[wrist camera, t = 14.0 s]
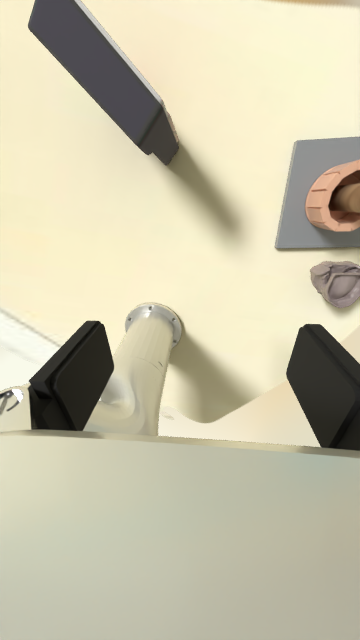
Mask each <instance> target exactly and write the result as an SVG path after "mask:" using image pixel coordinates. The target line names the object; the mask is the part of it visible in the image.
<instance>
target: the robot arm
mask: <svg viewBox="0 0 360 640" xmlns="http://www.w3.org/2000/svg"><path fill="white" fill-rule="evenodd" d="M150 306H151V307H150ZM174 318H175V319H174ZM125 330H126V335H125V336H124V338H123V340H122V342H121V343H120V345H119V347H118V349H117V350H116V352H115V354H114V356H113V357H112V354H111V350H110V346H109V343H108V339H107V335H106V331H105V327H104V325H103V324H101V323H100V322H99V321H86V322H85V323H84V324H83V325H82V326H81V327H80V328H79V329H78V330H77V331H76V332H75V333H74V334H73V335H72V336H71V337H70V339H69V340H68V341H67V342H66V343H65V344H64V345H63V346H62V347H61V348H60V349H59V350H58V351H57V352H56V353H55V354H54V355H53V356H52V357H51V358H50V359H49V360H48V361H47V362H46V364H45V365H44V366H43V367H42V368H41V369H40V370H39V371H38V372H37V373H36V374H35V375H34V376H33V377H32V378H31V379H30V380H29V382H30V383H28V384H25V385H23V386H15V387H10V388H7V389H4V390H2V391H0V640H360V364H359V363H358V362H357V361H356V360H355V359H354V358H353V357H352V356H351V355H350V354H349V353H348V352H347V351H346V350H345V349H344V348H343V347H342V346H341V345H340V343H339V342H338V341H337V340H336V339H335V338H334V337H333V336H332V335H331V334H330V333H329V332H328V331H327V330H326V329H325V328H324V327H323V326H322V325H320V324H305V325H304V326H303V327H301V328H300V329H299V332H298V335H297V338H296V341H295V345H294V348H293V351H292V355H291V358H290V361H289V364H288V368H287V372H286V375H287V379H288V381H289V383H290V385H291V387H292V389H293V391H294V393H295V395H296V397H297V399H298V401H299V403H300V405H301V407H302V409H303V411H304V413H305V415H306V417H307V419H308V421H309V423H310V425H311V428H312V429H313V432H314V434H315V436H316V438H317V440H318V441H319V444H320V446H321V447H310V446H309V447H308V446H296V445H282V444H267V443H255V442H241V441H227V440H212V439H196V438H183V437H167V436H158V421H159V410H160V403H161V397H162V392H163V387H164V382H165V377H166V372H167V367H168V362H169V357H170V352H171V349H172V348H173V347H174V346H175V345H176V344H177V343H178V342H179V340H180V337H181V332H182V327H181V323H180V320H179V318H178V317H177V315H176V314H175V313H174V312H173V311H172V310H171V309H169V308H167V307H166V306H163V305H161V304H157V303H144V304H141V305H138V306H137V307H135V308H134V309H133V310H131V312H130V313H129V314H128V316H127V318H126V322H125ZM100 397H101V401H98V400H99V399H100Z"/></svg>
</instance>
